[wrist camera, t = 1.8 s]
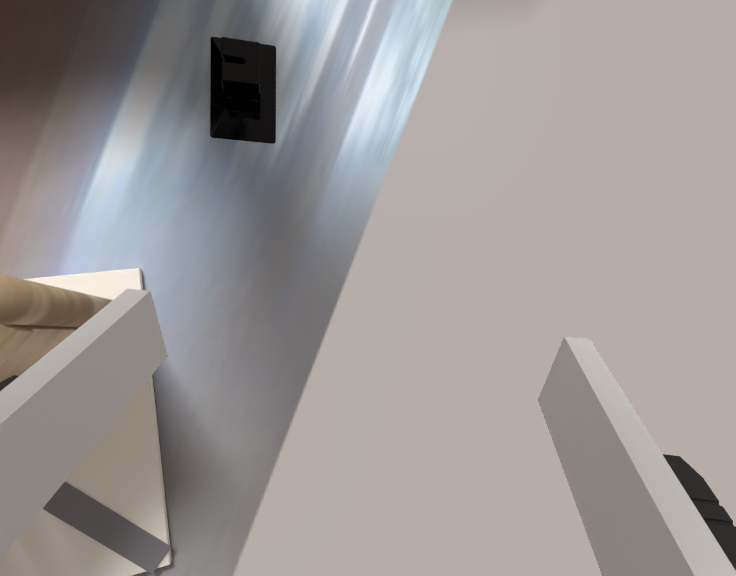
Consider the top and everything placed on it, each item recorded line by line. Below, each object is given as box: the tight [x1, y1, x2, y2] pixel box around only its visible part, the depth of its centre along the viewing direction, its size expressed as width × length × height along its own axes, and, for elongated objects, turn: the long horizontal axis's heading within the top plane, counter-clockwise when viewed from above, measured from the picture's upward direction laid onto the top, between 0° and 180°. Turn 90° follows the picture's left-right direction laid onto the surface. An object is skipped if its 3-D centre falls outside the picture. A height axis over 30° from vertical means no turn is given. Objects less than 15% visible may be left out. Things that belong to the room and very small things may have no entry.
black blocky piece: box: [210, 37, 276, 144], centre depth 33 cm, size 12×7×5 cm, turn 2°
